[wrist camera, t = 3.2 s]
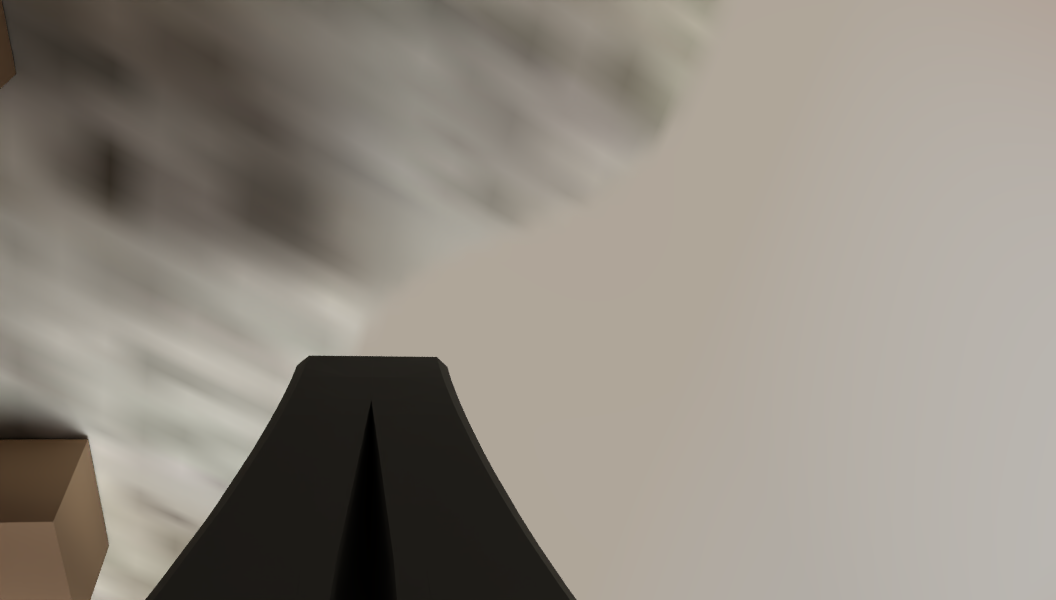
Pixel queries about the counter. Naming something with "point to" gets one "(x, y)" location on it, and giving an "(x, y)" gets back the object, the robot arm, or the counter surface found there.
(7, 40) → the rail
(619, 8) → the counter surface
